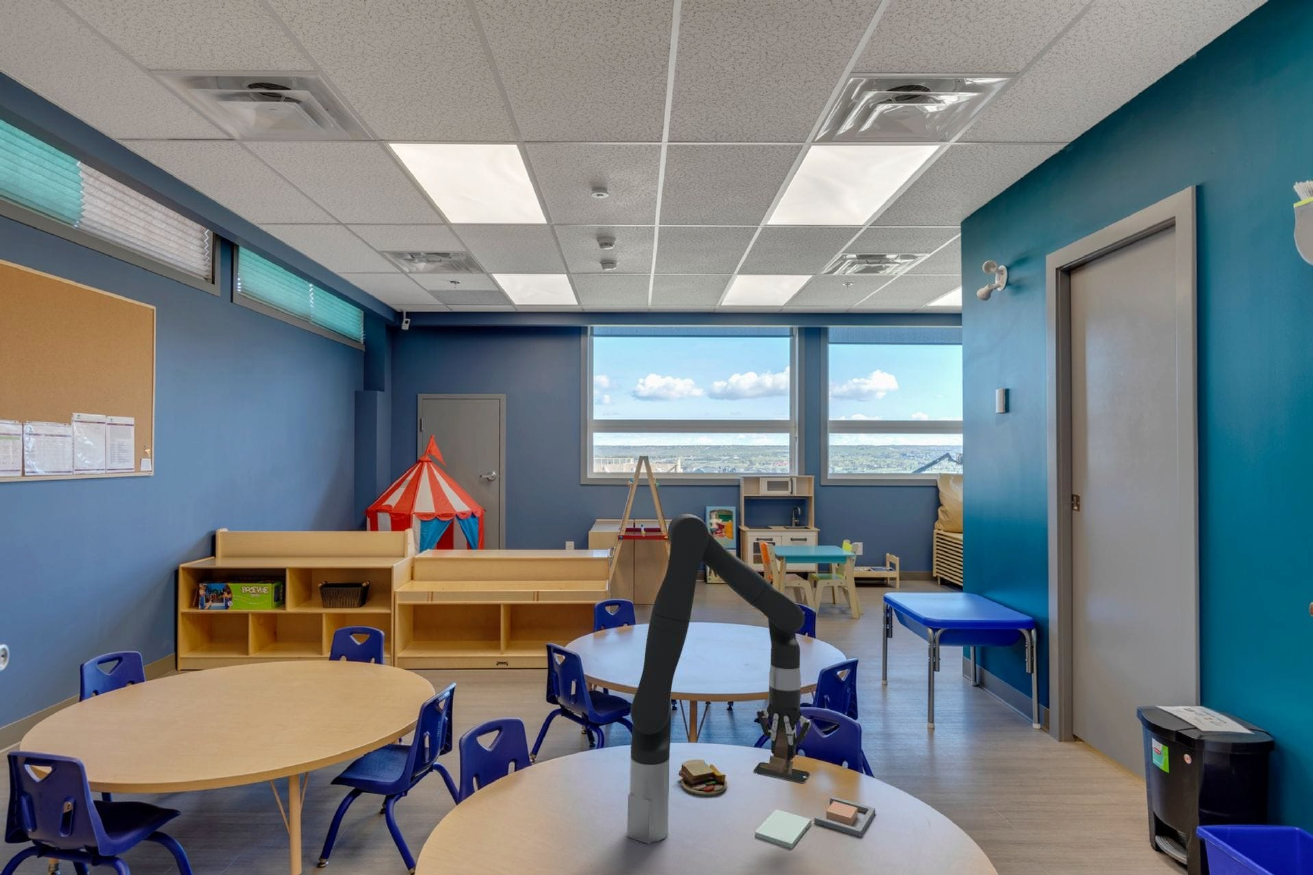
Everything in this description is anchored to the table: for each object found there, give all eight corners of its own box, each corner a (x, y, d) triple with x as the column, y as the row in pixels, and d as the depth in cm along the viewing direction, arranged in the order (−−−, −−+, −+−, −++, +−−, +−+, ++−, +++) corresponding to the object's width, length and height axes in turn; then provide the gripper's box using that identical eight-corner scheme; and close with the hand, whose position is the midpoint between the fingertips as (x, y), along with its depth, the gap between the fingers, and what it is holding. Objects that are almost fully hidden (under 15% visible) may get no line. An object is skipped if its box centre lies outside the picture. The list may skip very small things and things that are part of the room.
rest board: (791, 848, 151) (791, 843, 151) (754, 836, 156) (755, 831, 156) (811, 823, 162) (811, 819, 162) (776, 813, 167) (776, 808, 167)
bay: (860, 836, 156) (860, 831, 156) (814, 822, 162) (814, 817, 162) (875, 813, 168) (875, 808, 168) (831, 800, 174) (831, 796, 174)
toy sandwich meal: (692, 800, 173) (692, 781, 173) (672, 778, 185) (672, 760, 186) (735, 793, 177) (735, 775, 178) (713, 772, 190) (713, 755, 190)
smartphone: (804, 783, 183) (752, 771, 189) (804, 785, 183) (752, 773, 189) (811, 772, 190) (760, 761, 196) (811, 774, 190) (760, 763, 196)
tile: (850, 828, 161) (850, 817, 161) (826, 821, 164) (826, 810, 164) (857, 817, 166) (857, 807, 166) (833, 811, 169) (833, 801, 169)
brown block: (780, 772, 154) (787, 722, 159) (760, 766, 157) (768, 717, 161) (791, 774, 160) (798, 726, 165) (771, 769, 163) (779, 722, 167)
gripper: (751, 682, 162) (749, 755, 161) (807, 693, 154) (806, 770, 153) (763, 675, 168) (762, 745, 167) (818, 685, 161) (816, 759, 160)
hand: (783, 757), depth 160 cm, fingers closed on brown block, 3 cm apart
